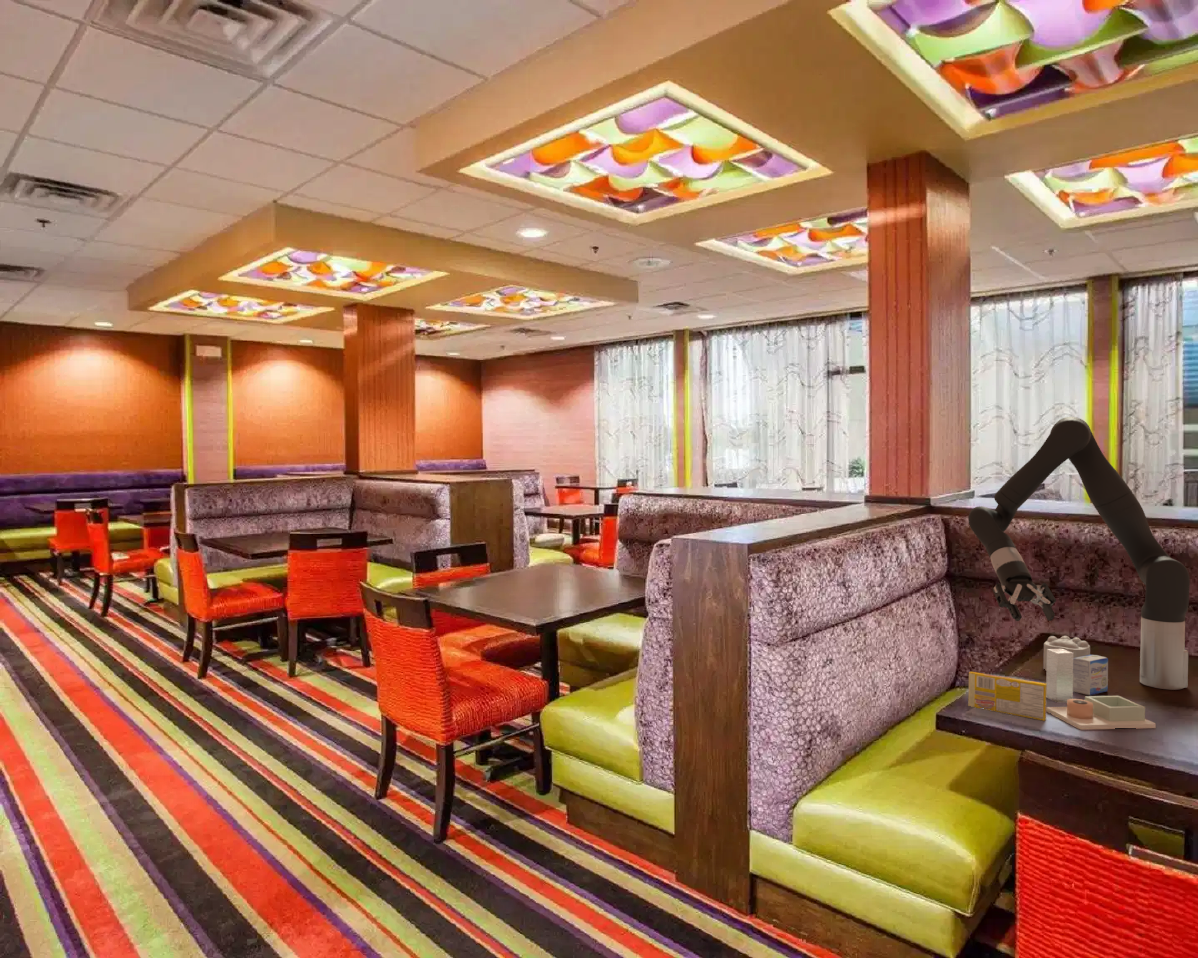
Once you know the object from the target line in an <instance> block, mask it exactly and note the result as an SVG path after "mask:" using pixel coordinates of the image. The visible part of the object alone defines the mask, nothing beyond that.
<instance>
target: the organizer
mask: <svg viewBox="0 0 1198 958" xmlns="http://www.w3.org/2000/svg"><path fill="white" fill-rule="evenodd" d="M1046 713H1047V714H1050V713H1051V714H1050V715H1052V716H1053V717H1056V718H1058V719H1060V720H1061V721H1064V722H1065V723H1067V724H1068V725H1071V726H1073V727H1075V728H1076V729H1078V730H1081V731H1082V730H1087V731H1088V730H1116V729H1115V728H1136V729H1156V728H1157V727H1156V722H1153V721H1151V720H1149V719H1147V718H1146V706H1143V705H1141V704H1139V703H1137V702H1134V701H1132V700H1129V699H1128V698H1125V697H1123V696H1120V695H1091V696H1089V695H1086V696H1084V699H1079V698H1073V699H1068V700H1067V702H1066V706H1046Z"/></svg>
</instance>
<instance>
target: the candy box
mask: <svg viewBox="0 0 1198 958" xmlns="http://www.w3.org/2000/svg"><path fill="white" fill-rule="evenodd" d="M1046 688H1047V684H1046V682H1045V683H1044V682H1040V681H1039V682H1038V681H1033V680H1026V679H1020V678H1013V677H1008V676H1007V677H1006V676H1000V675H994V674H988V673H982V672H975V671H969V672H968V699H967V700H968V702H967V706H968V707H969V706H971V707H970V708H975V707H976V708H975V709H980V708H984V709H983V710H985V709H987V710H986V711H990V710H991V712H997V713H1001V714H1006V713H1007V715H1011V714H1012V716H1016V717H1022V718H1027V719H1032V718H1033V720H1038V721H1043V722H1045V721H1046V720H1047V712H1046V707H1047V698H1046Z"/></svg>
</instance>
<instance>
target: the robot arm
mask: <svg viewBox="0 0 1198 958" xmlns="http://www.w3.org/2000/svg"><path fill="white" fill-rule="evenodd" d="M1067 460H1069V461H1070V463H1071V464H1072V465H1073V467H1074V468H1075V470H1076V472H1077V473H1078V475H1079V478H1080V480H1081V483H1082V486H1083V487H1084V490H1085V492H1086V493H1087V496H1088V498H1089V501H1090V502H1091V503H1092V505H1093V507H1094V508H1095V510H1096V512H1097V514H1098V515H1099V516H1100V517H1101V519H1102V520H1103V522H1104V523H1105V525H1106V526H1107V528H1108V529H1109V530H1110V532H1111V533H1112V534H1113V535H1114V537H1115V538H1116V539H1117V540H1118V541H1119V543H1120V544H1121V545H1122V547H1123V548H1124V550H1125V551H1126V553H1127V554H1128V556H1129V558H1130V561H1131V563H1132V564H1133V566H1134V568H1135V571H1136V572H1137V575H1138V577H1139V578H1140V580H1141V582H1142V583H1143V584H1144V585H1145V597H1144V598H1145V599H1144V603H1143V605H1142V606H1141V610H1140V648H1139V649H1140V653H1139V656H1140V657H1139V665H1140V666H1139V683H1141V684H1142V685H1144V686H1147V687H1151V688H1156V689H1163V690H1171V691H1172V690H1173V691H1174V690H1175V691H1177V690H1182V689H1184V688H1188V686H1189V685H1188V681H1189V679H1188V675H1189V650H1187V649H1185V648H1186V647H1185V645H1186V642H1185V640H1186V614H1187V612H1188V609H1189V602H1190V588H1191V587H1190V586H1191V585H1190V583H1191V581H1190V574H1189V570H1188V569H1187V567H1186V566H1185V564H1183V563H1182V562H1181V561H1179V560H1176V559H1174V558H1172V557H1171V556H1170V555H1169V554H1168V553H1167V552H1166V551H1165V549H1164V548H1163V547H1162V545H1161V544H1160V543H1159V542H1158V540H1157V539H1156V537H1155V536H1154V534H1153V532H1152V531H1151V527H1150V525H1149V522H1148V519H1147V516H1146V514H1145V511H1144V509H1143V507H1142V505H1141V504H1140V501H1139V500H1138V499H1137V496H1135V494H1134V493H1133V491H1132V489H1131V488H1130V487H1129V486H1128V484H1127V483H1126V482H1125V480H1124V478H1122V476H1121V475H1120V473H1118V471H1117V469H1116V468H1114V467H1113V465H1112V464H1111V462H1109V461H1108V459H1107V458H1106V456H1105V455H1104V454H1103V452H1102V450H1101V447H1100V446H1099V444H1098V443H1097V440H1096V438H1095V436H1094V434H1093V432H1092V430H1091V427H1090V425H1089V424H1088V423H1087V422H1086V421H1085V420H1084V419H1082V418H1080V417H1076V416H1066V417H1062V418H1061V419H1059V420H1057V421H1056V422H1055V423H1054V425H1053V426H1052V428H1051V429H1050V433H1049V434H1048V436H1047V437H1046V439H1045V440H1044V442H1043V444H1042V445H1041V446H1040V447H1039V449H1038V451H1036V453H1035V454H1034V455H1033V456H1032V457H1031V458H1030V459H1029V460H1028V461H1027V462H1026V463H1025V464H1024V465H1023V466H1022V467H1021V468H1019V469H1018V470H1017V471H1016V472H1015V473H1014V474H1013V475H1011V477H1009V479H1008V480H1007V481H1006V482H1004V484H1003V485H1002V486H1001V487H1000V488H999V490H997V492H995V494H994V497H993V498H994V501H995V503H996V504H997V506H996V507H995V509H991V508H989V507H986V506H984V505H983V506H982V505H981V506H980V505H979V506H976V507H973V508H972V509H971V511H970V512H969V514H968V518H967V519H968V525H969V527H970V530H971V531H972V532H973V534H974V535H975V536H976V538H977V539H978V541H979V542H980V543H981V544H982V545H983V546H984V548H985V550H986V552H987V554H988V557H989V559H990V561H991V565H992V567H993V569H994V572H995V574H996V576H997V578H998V580H999V583H996V584H995V586H994V587H993V588H992V592H993V595H994V597H995V600H996V602H997V605H998V607H999V608H1006V609H1007V610H1008V611H1009V613H1010V615H1011V618H1012V619H1014V620H1015V622H1020V620H1021V619H1023V617H1022V614H1021V610H1020V609H1019V608H1018V606H1017V604H1016V603H1017V602H1031V603H1032V604H1034V605H1037V606H1039V607H1040V608H1041V609H1042V610H1041V611H1042V612H1043V614H1044V616H1045V618H1046V621H1049V622H1050V621H1053V620H1054V619H1055V616H1056V614H1055V612H1054V610H1053V608H1052V607H1053V605H1054V604H1055V603H1056V602H1057V599H1056V597H1055V596H1054V594H1053V591H1051V590H1050V587H1049V585H1048V584H1047V583H1046V582H1043V583H1041V584H1035V583H1034V581H1033V577H1032V575H1031V572H1030V571H1029V569H1028V566H1027V564H1026V563H1025V561H1024V559H1023V556H1022V555H1021V554H1020V553H1019V551H1018V549H1017V547H1016V545H1015V544H1014V542H1013V540H1012V538H1011V536H1010V535H1008V534H1007V533H1006V532H1005V531H1006V530H1007V529H1008V527H1009V526H1010V525H1011V522H1012V521H1013V519H1014V517H1015V516H1016V514H1017V512H1018V509H1019V508H1020V507H1022V506H1023V504H1024V503H1025V502H1026V501H1028V499H1029V498H1030V497H1031V496H1033V494H1034V493H1035V492H1036V491H1037V490H1038V489H1039V487H1041V485H1042V484H1043V483H1044V482H1045V481H1046V480H1047V478H1049V476H1050V475H1051V474H1052V473H1053V472H1054V471H1056V469H1058V468H1059V467H1060V466H1061V465H1062V464H1063V463H1065V462H1066V461H1067ZM1005 593H1006V594H1007V595H1008V596H1009V597H1008V598H1007V597H1006V594H1005ZM1035 596H1036V598H1035ZM1016 601H1017V602H1016Z"/></svg>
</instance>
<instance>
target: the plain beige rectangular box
mask: <svg viewBox="0 0 1198 958" xmlns="http://www.w3.org/2000/svg"><path fill="white" fill-rule="evenodd" d="M1045 671H1046V670H1045ZM1045 673H1046V678H1045V679H1046V680H1045V683H1046V684H1047V688H1046V699H1048V700H1050V699H1051V701H1052V702H1054V703H1055V704H1056V703H1057V704H1060V703H1064V704H1065V703H1066V704H1067V700H1068V699H1074V698H1073V693H1074V691H1073V653H1072V652H1069V651H1067V650H1064V649H1047V671H1046V672H1045Z"/></svg>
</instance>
